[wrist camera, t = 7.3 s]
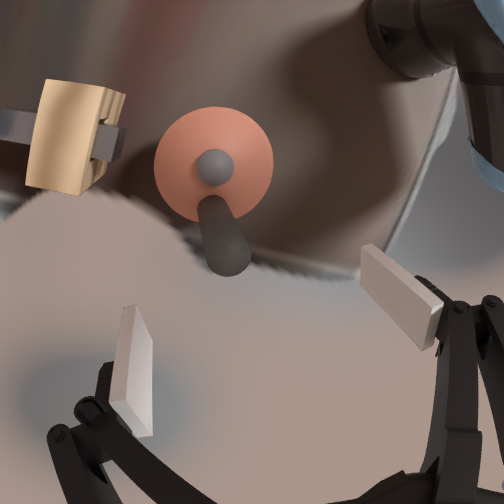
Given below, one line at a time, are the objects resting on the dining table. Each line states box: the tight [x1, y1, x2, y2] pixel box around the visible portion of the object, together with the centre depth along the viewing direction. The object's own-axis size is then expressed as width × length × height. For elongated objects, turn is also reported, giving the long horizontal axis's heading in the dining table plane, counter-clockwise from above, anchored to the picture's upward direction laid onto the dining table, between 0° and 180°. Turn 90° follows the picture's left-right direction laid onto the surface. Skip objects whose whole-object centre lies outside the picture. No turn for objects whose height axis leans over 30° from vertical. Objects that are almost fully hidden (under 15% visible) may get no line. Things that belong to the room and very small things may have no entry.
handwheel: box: [154, 107, 274, 277], centre depth 26 cm, size 12×12×12 cm
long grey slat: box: [0, 107, 128, 162], centre depth 23 cm, size 16×3×6 cm, turn 71°
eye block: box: [25, 79, 126, 196], centre depth 27 cm, size 6×10×11 cm, turn 162°
